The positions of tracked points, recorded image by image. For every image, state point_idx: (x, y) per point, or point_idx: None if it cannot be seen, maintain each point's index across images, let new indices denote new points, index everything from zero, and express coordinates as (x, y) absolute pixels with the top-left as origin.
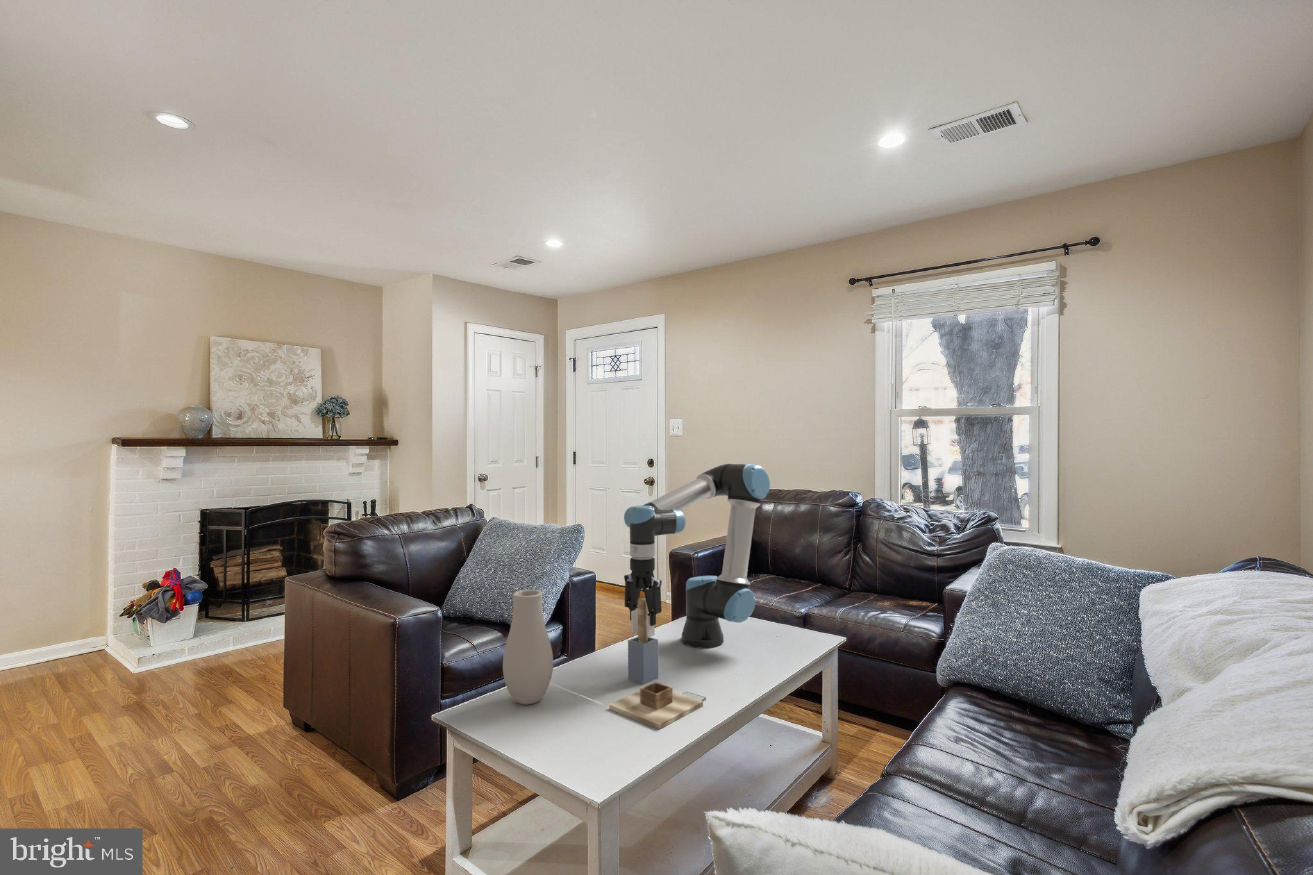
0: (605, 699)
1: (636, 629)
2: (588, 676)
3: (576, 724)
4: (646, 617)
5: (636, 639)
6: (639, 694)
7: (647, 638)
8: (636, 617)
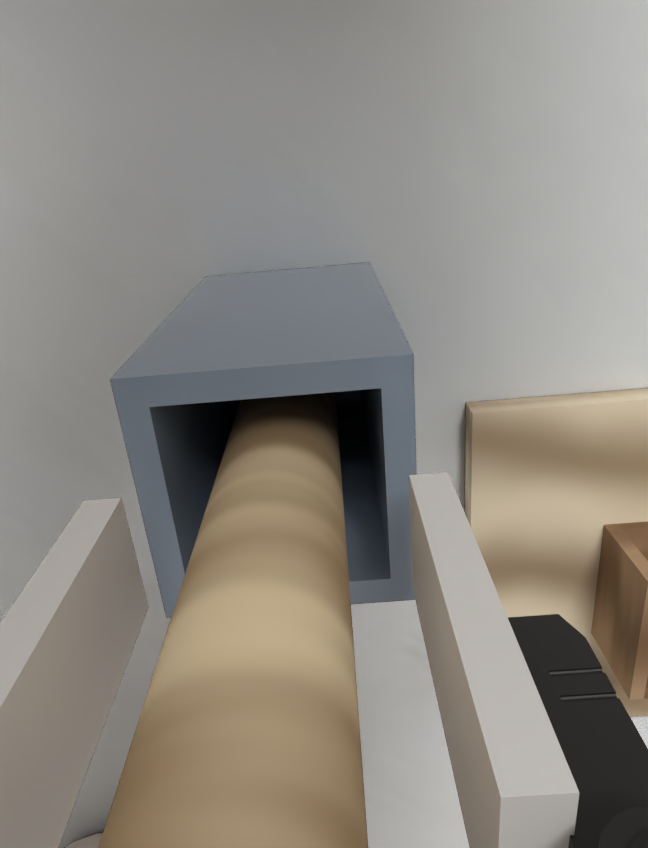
0: (362, 664)
1: (124, 570)
2: (12, 557)
3: (463, 845)
4: (362, 774)
5: (176, 506)
6: (507, 568)
7: (336, 485)
8: (45, 730)
